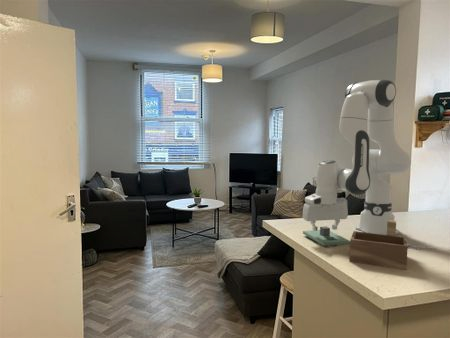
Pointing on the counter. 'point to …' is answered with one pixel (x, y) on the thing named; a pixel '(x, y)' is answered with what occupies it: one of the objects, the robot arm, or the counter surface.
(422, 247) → the pliers
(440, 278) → the counter surface
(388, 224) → the wooden block
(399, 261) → the toolbox
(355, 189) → the robot arm
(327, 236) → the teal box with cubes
